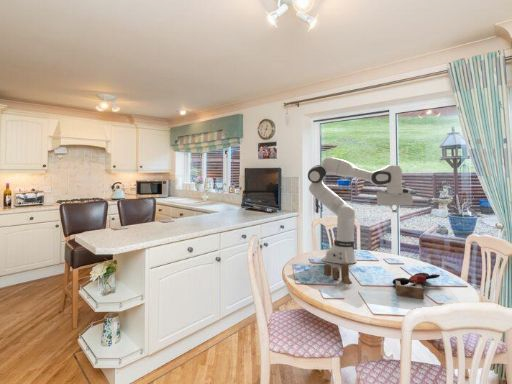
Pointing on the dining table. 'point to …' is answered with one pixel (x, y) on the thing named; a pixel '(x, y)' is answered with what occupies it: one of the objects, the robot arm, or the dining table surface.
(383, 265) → the dining table surface
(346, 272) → the wooden block set
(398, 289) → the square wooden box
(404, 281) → the toy motorcycle
